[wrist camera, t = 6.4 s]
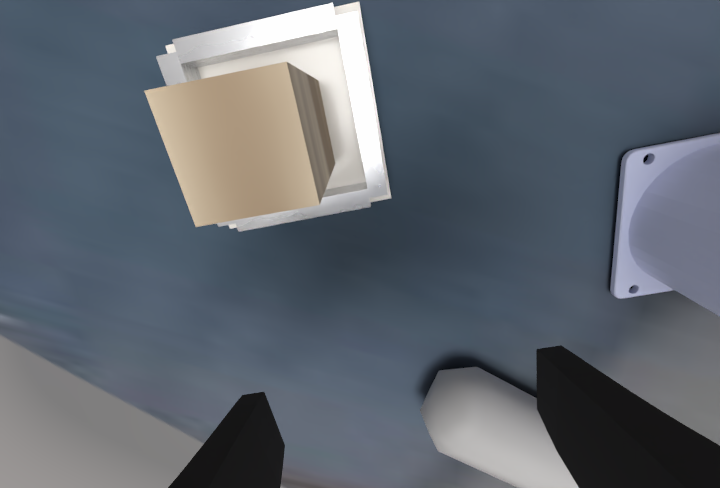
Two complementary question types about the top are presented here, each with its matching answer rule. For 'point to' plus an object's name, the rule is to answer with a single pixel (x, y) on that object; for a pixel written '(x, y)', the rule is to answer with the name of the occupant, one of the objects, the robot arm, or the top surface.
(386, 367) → the top surface
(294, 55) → the tile
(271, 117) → the wooden block
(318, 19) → the white square tray
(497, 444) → the tube
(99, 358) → the top surface
